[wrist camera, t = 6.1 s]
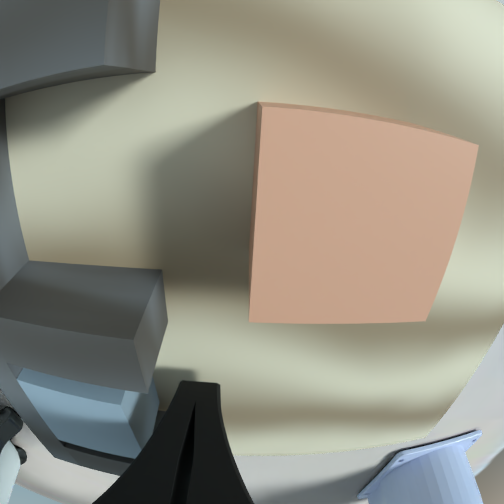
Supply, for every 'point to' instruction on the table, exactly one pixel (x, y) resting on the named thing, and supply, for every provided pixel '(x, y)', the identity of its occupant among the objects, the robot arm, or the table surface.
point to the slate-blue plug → (93, 412)
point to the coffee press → (9, 452)
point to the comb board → (228, 208)
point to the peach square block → (351, 215)
